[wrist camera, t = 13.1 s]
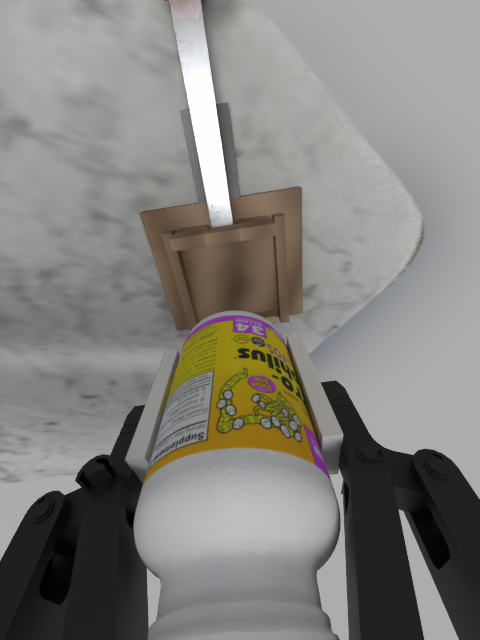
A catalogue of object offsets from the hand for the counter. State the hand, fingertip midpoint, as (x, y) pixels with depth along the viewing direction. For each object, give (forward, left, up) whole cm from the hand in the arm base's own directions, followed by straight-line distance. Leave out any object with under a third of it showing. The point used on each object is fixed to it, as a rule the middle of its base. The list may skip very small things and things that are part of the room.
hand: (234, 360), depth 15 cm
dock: (0, +5, -16) cm, 16 cm away
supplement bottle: (0, 0, -1) cm, 1 cm away
